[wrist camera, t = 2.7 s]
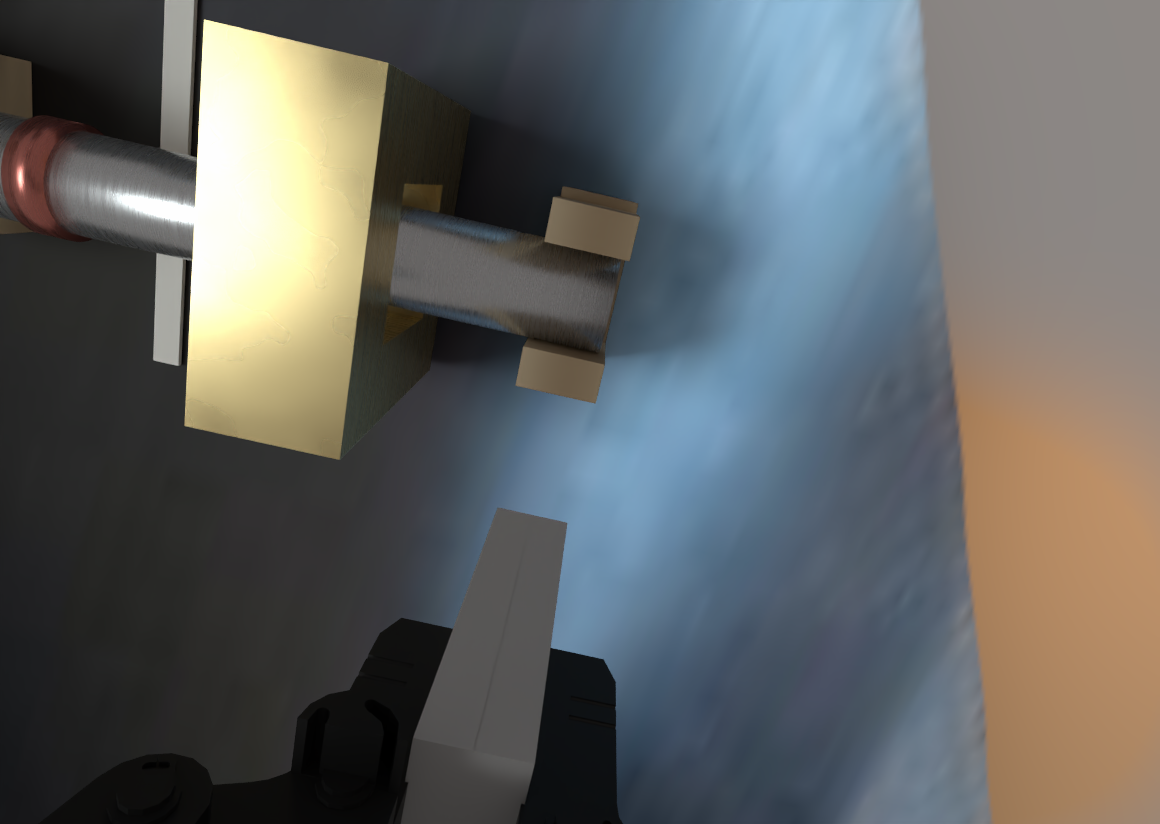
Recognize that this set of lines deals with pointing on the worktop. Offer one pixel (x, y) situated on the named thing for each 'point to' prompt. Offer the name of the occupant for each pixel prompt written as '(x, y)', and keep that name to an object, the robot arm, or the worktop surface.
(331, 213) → the collar
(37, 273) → the worktop surface
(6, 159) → the pipe
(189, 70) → the tick mark
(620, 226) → the cradles
